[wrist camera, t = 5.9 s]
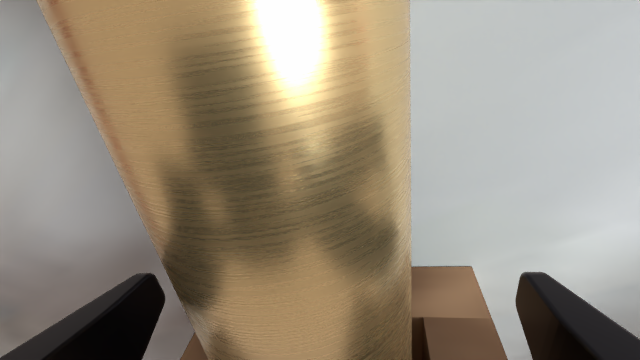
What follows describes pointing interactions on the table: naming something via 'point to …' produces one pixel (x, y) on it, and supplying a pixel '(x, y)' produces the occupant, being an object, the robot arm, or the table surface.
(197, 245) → the tube
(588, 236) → the table surface
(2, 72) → the table surface
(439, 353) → the socket cradle
